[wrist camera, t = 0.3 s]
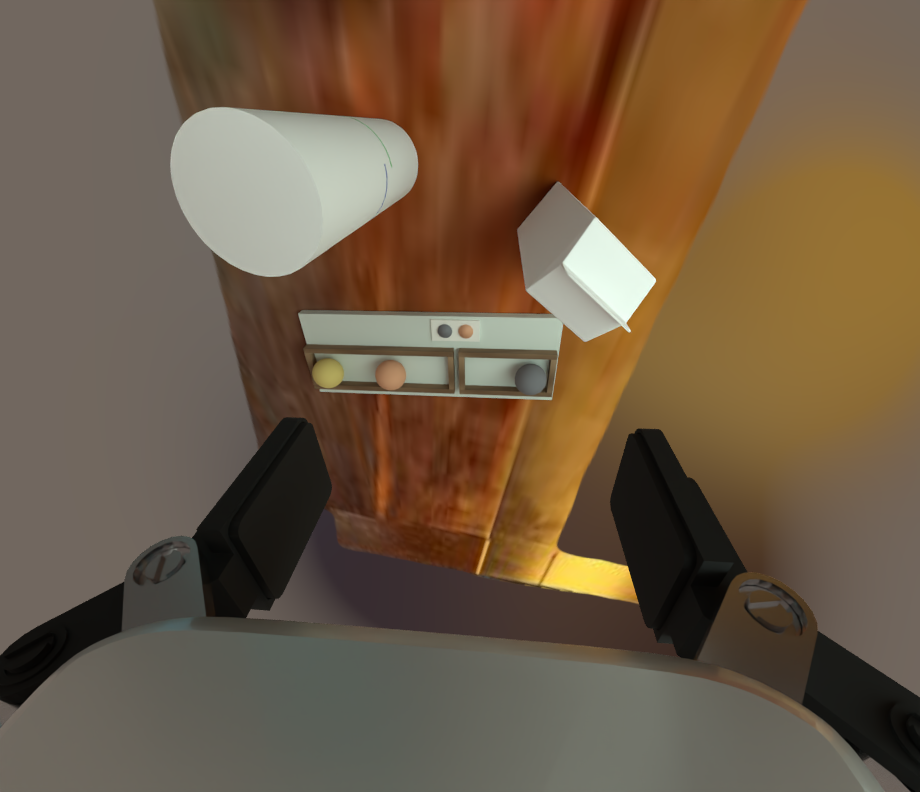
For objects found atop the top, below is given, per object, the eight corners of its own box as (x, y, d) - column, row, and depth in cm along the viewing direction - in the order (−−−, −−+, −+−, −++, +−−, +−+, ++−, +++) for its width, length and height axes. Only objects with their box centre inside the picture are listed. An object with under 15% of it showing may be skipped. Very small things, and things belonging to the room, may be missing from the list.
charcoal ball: (515, 357, 48) (516, 374, 45) (546, 358, 48) (549, 375, 45) (513, 383, 51) (514, 400, 47) (543, 384, 50) (546, 402, 47)
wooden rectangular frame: (459, 347, 48) (458, 352, 47) (556, 350, 47) (557, 354, 46) (460, 389, 52) (459, 394, 51) (550, 392, 51) (551, 397, 50)
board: (302, 309, 48) (296, 315, 47) (562, 314, 46) (564, 320, 44) (323, 387, 55) (319, 393, 54) (550, 394, 53) (552, 402, 51)
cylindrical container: (353, 199, 40) (203, 272, 20) (343, 117, 36) (142, 103, 16) (419, 203, 40) (333, 281, 20) (417, 120, 36) (306, 110, 16)
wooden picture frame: (306, 344, 50) (302, 348, 49) (453, 347, 48) (452, 352, 47) (318, 384, 54) (314, 388, 53) (455, 388, 52) (454, 393, 51)
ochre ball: (316, 352, 51) (303, 367, 47) (345, 353, 50) (334, 368, 47) (323, 377, 53) (311, 393, 50) (350, 378, 53) (340, 394, 49)
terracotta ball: (377, 353, 50) (369, 369, 47) (407, 354, 50) (400, 370, 46) (382, 379, 52) (374, 395, 49) (410, 380, 52) (404, 396, 49)
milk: (557, 180, 38) (608, 223, 20) (597, 222, 40) (678, 296, 22) (515, 230, 41) (526, 307, 23) (554, 267, 43) (593, 365, 25)
